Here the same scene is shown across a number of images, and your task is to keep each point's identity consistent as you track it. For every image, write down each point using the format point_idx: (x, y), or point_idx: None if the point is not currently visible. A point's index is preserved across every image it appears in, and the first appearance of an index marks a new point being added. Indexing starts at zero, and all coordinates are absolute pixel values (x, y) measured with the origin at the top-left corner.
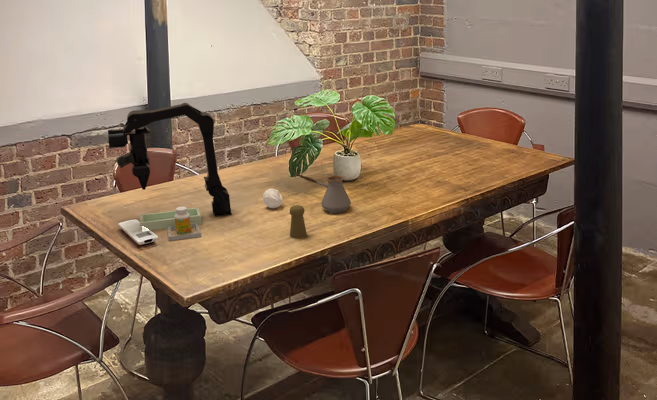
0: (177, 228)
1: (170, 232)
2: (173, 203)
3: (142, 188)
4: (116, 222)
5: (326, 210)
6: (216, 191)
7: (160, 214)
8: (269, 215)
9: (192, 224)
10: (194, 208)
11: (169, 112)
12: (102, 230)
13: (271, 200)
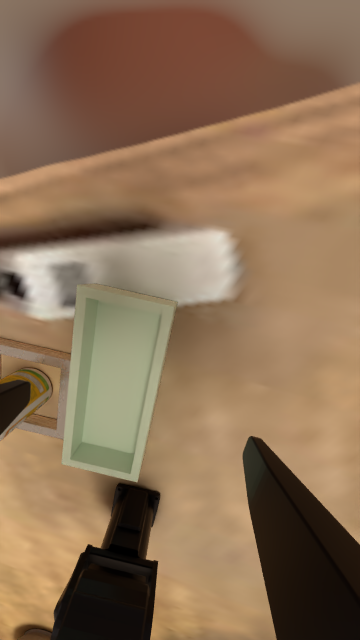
0: (2, 379)
1: (13, 354)
2: (300, 435)
3: (6, 386)
4: (239, 224)
5: (44, 631)
6: (55, 608)
7: (151, 372)
8: (67, 561)
9: (58, 422)
10: (135, 471)
11: None
12: (183, 153)
13: None
